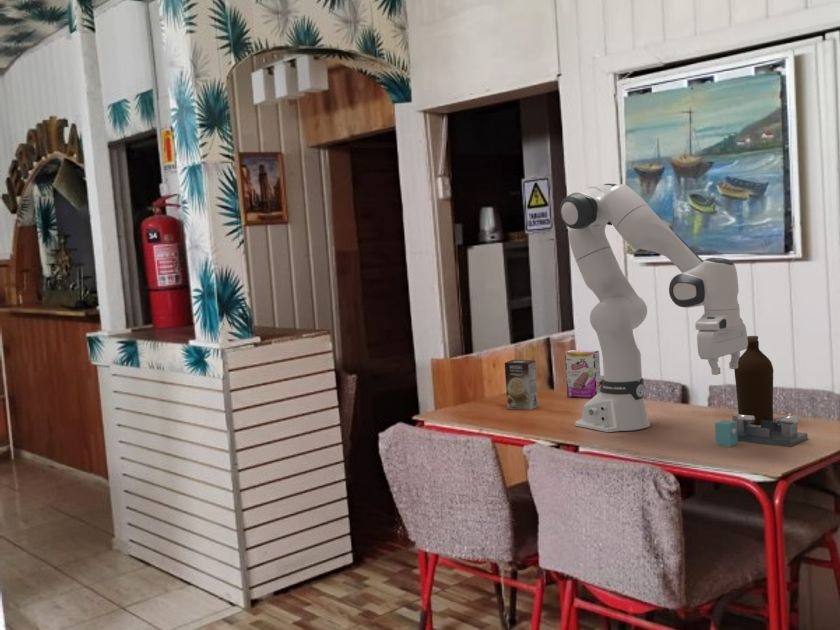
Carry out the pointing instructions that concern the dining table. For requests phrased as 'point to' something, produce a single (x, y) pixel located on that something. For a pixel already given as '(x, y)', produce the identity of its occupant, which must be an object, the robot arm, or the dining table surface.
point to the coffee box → (521, 384)
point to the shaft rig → (769, 430)
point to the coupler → (726, 433)
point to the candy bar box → (582, 373)
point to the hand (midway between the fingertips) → (725, 371)
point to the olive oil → (754, 383)
